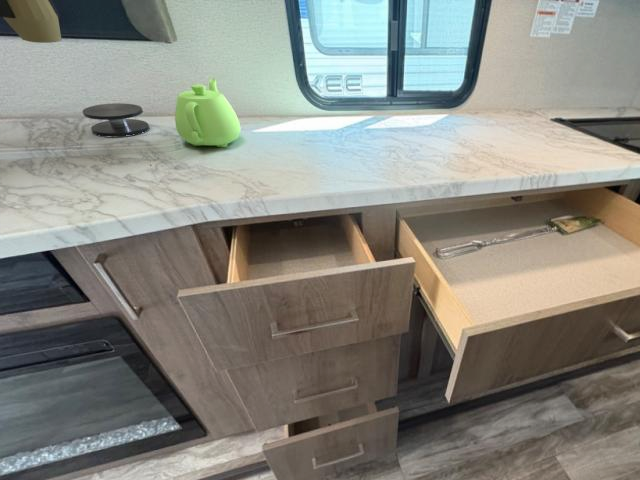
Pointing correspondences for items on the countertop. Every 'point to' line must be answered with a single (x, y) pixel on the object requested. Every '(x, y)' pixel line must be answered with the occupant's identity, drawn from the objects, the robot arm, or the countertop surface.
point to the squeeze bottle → (34, 21)
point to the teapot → (206, 116)
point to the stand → (116, 119)
